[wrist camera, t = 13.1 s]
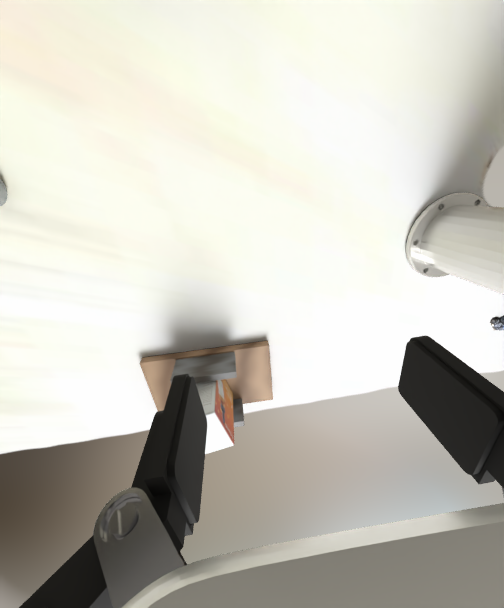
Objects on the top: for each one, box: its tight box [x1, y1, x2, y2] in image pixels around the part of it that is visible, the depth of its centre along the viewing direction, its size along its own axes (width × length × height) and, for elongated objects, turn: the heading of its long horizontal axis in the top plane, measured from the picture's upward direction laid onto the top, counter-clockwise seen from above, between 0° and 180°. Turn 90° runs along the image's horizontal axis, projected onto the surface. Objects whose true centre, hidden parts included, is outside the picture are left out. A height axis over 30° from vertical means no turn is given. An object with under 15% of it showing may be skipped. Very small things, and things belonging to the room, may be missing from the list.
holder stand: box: [140, 341, 273, 427], centre depth 42 cm, size 22×13×6 cm, turn 95°
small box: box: [196, 379, 234, 454], centre depth 39 cm, size 8×6×10 cm
